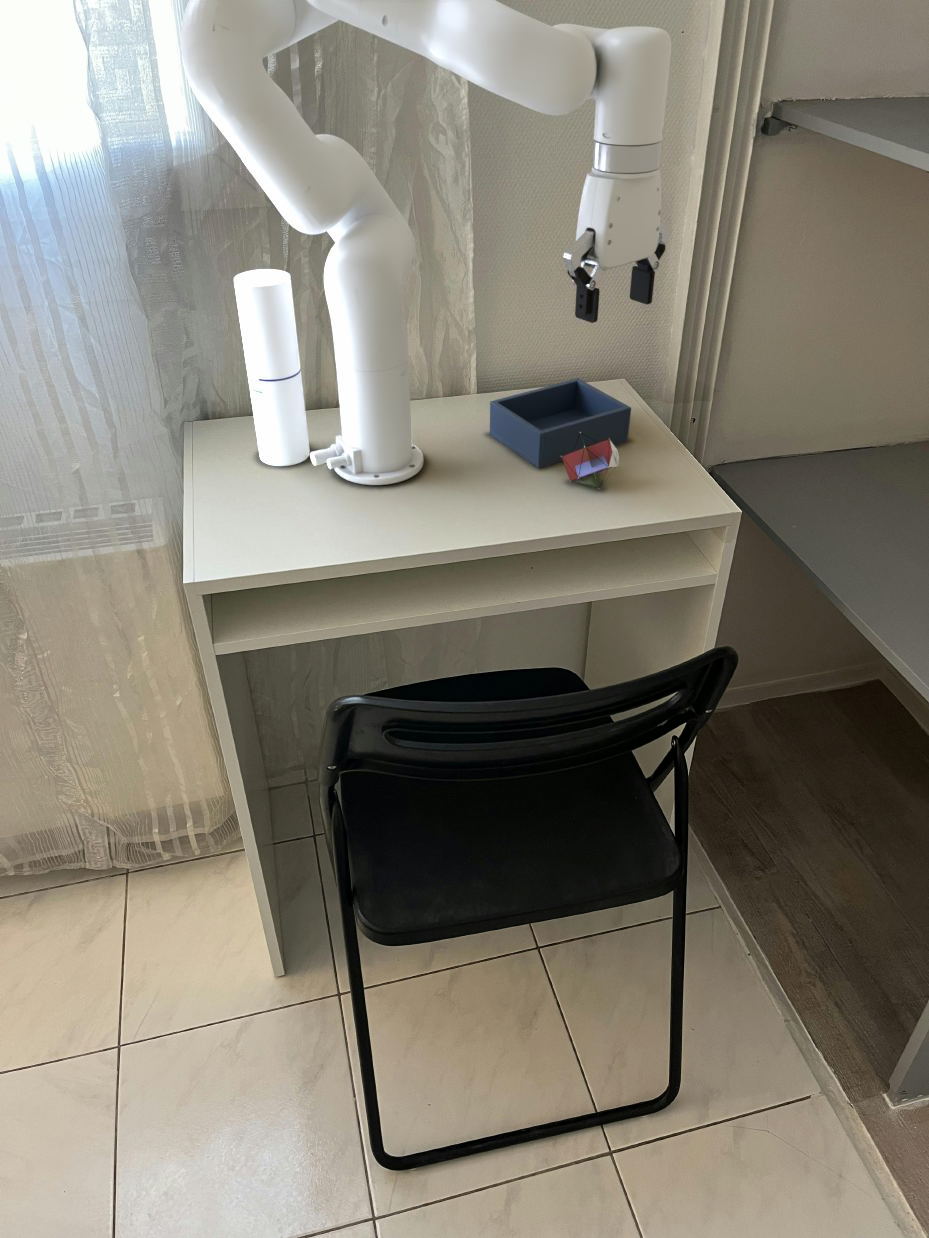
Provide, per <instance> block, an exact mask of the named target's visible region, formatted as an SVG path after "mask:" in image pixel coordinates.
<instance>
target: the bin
mask: <svg viewBox="0 0 929 1238" xmlns="http://www.w3.org/2000/svg"><path fill="white" fill-rule="evenodd" d="M631 414H632V407H631V406H629V405H627V404H626V403H624V402H622V401H620V400H618V399H616V398H615V397H613V396H611V395H609V394H608V393H606V392H604V391H603V390H600V389H599V388H596V387H595V386H593V385H592V384H589V383H587V382H586V381H584V380H583V379H580V378H574V379H570V380H567V381H563V382H559V383H558V382H557V383H555V384H551V385H547V386H544V387H540V388H536V389H531V390H528V391H523V392H519V393H517V394H513V395H509V396H506V397H501V398H498V399H495V400H490V401H489V435H490V436H491V437H492V438H494V439H495V440H496V441H498V442H499V443H501V444H503V445H504V446H506V447H507V448H508V449H510V450H511V451H513V452H514V453H515V454H517V455H518V456H520V457H521V458H522V459H524V460H526V461H527V462H528V463H530V464H531V465H533V466H534V467H535V468H537V469H541V468H544V467H547V466H551V465H554V464H557V463H561V462H563V460H562V457H561V456H563V455H566V454H568V453H570V452H573V450H574V452H575V450H577V451H578V449H579V450H581V449H580V448H582V449H583V447H584V445H585V446H587V447H589V446H588V445H590V446H592V444H593V445H594V444H595V443H596V444H597V442H601V441H604V440H607V439H610V441H611V442H612V443H613V445H614V446H616V445H619V444H622V443H625V442H629V441H628V440H629V430H630V422H631ZM580 432H581V433H582V434H580ZM583 433H584V435H583ZM579 434H580V436H579ZM588 434H589V435H588ZM581 435H582V438H581ZM585 435H586V436H585ZM592 435H593V436H592ZM577 436H578V437H579V438H578V437H577ZM597 436H598V437H597ZM588 437H589V438H588ZM590 438H591V439H590ZM606 438H607V439H606ZM582 439H583V441H582ZM592 439H593V440H592ZM577 440H578V441H577ZM594 440H595V441H594ZM573 441H574V442H573ZM596 441H597V442H596ZM576 442H577V443H576ZM583 442H584V444H583ZM575 445H576V446H575ZM569 446H570V447H569ZM574 447H575V449H574ZM565 451H566V452H565Z"/></svg>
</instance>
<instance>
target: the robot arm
mask: <svg viewBox="0 0 929 1238" xmlns="http://www.w3.org/2000/svg"><path fill="white" fill-rule="evenodd" d="M338 21H341V22H344V23H346V24H348V25H351V26H353V27H355V28H358V29H360V30H363V31H365V32H368V33H370V34H372V35H375V36H376V37H379V38H381V39H383V40H386V41H388V42H390V43H393V44H396V45H397V46H399V47H401V48H404V49H406V50H409V51H412V52H413V53H416V54H417V55H420V56H423V57H424V58H426V59H428V60H430V61H431V62H433V63H434V64H435V65H437V66H439V67H441V68H443V69H446V70H447V71H450V72H452V73H454V74H456V75H458V76H459V77H461V78H463V79H465V80H466V81H469V82H470V83H473V84H474V85H476V86H478V87H480V88H482V89H484V90H486V91H489V92H490V93H493V94H495V95H498V96H499V97H502V98H505V99H507V100H509V101H511V102H514V103H515V104H518V105H520V106H523V107H525V108H528V109H530V110H533V111H535V112H538V113H540V114H543V115H547V116H557V117H558V116H565V115H569V114H571V113H573V112H575V111H576V110H578V109H579V108H580V107H582V106H583V105H584V103H585V102H586V101H587V100H589V99H590V100H591V99H594V101H595V112H594V125H593V127H594V129H593V142H592V144H593V145H592V157H591V158H592V161H591V172H588V173H586V177H585V181H584V184H583V187H582V193H581V198H580V203H579V209H578V216H577V223H576V233H575V241H574V242H573V243H572V244H571V245H570V246H569V247H568V248H567V249H566V250H565V252H564V253H563V257H562V258H563V261H564V264H565V266H566V269H567V275H568V276H569V278H571V280H572V284H573V285H575V286H576V291H575V306H574V309H575V310H574V316H575V317H576V318H577V319H579V320H582V321H585V322H588V323H591V324H594V323H596V322H597V321H598V320H599V306H600V292H601V291H600V288H598V287H597V286H598V283H599V281H600V280H601V278H602V276H603V274H604V272H605V271H606V270H612V269H615V268H618V267H619V268H620V267H621V266H625V265H628V264H631V263H635V264H636V265H634V266H632V269H631V276H630V288H629V299H630V300H631V301H635V302H637V303H640V304H644V305H651V304H652V303H653V296H654V287H655V276H656V271H657V270H658V269H659V268H660V264H661V263H660V259H661V258H662V257H663V255H664V253H665V251H666V245H667V243H668V240H669V238H670V235H671V233H672V227H671V226H670V225H668V224H667V223H665V222H664V221H662V220H661V217H662V216H661V214H662V175H661V168H660V165H661V157H662V149H663V137H664V127H665V117H666V116H665V115H666V107H667V106H666V105H667V96H668V86H669V76H670V68H671V56H672V38H671V36H670V33H669V32H668V31H667V30H665V29H663V28H660V27H655V26H644V25H643V26H642V25H641V26H640V25H639V26H637V25H636V26H635V25H634V26H633V25H632V26H621V27H614V28H611V29H609V28H602V27H594V26H593V27H592V26H586V25H581V24H575V23H559V24H554V25H550V24H547V23H545V22H543V21H540V20H539V19H535V18H533V17H531V16H529V15H527V14H525V13H522V12H520V11H518V10H516V9H513V8H512V7H510V6H508V5H506V4H504V3H502V2H500V1H498V0H188V2H187V4H186V6H185V10H184V13H183V15H182V20H181V27H180V38H179V39H180V40H179V41H180V54H181V60H182V65H183V69H184V73H185V75H186V77H187V80H188V83H189V86H190V87H191V89H192V92H193V93H194V95H195V98H196V99H197V100H198V102H199V103H200V105H201V106H202V108H203V109H204V111H205V112H206V114H207V115H208V116H209V118H210V120H211V121H212V122H213V123H214V124H215V126H216V127H217V128H218V129H219V131H220V132H221V133H222V135H223V136H224V137H225V138H226V140H227V141H228V143H229V144H230V145H231V147H232V148H233V149H234V151H235V153H237V155H238V157H239V158H240V159H241V161H242V163H243V164H244V165H245V167H246V168H247V170H248V171H249V173H250V174H251V175H252V176H253V178H254V179H255V180H256V182H257V183H258V184H259V186H260V187H261V189H262V190H263V192H265V194H266V195H267V197H268V198H269V200H270V201H271V202H272V204H273V205H274V207H275V208H276V209H277V211H278V213H280V215H281V216H282V217H283V219H284V220H285V222H287V224H289V225H290V226H291V227H292V228H293V229H295V230H296V231H298V232H300V233H302V234H305V235H311V236H312V235H320V234H324V233H326V232H327V234H329V236H330V237H331V239H332V240H333V242H334V244H333V245H332V247H331V248H330V251H329V252H328V255H327V258H326V261H325V264H324V269H323V286H324V294H325V295H324V296H325V299H326V303H327V308H328V313H329V319H330V324H331V331H332V339H333V350H334V361H335V369H336V380H337V391H338V392H337V393H338V404H339V414H340V415H339V416H340V425H341V434H339V435H335V443H333V444H331V445H330V447H328V448H327V447H326V448H321V449H317V450H313V451H310V455H309V457H310V461H311V464H312V465H313V466H315V467H317V466H320V465H323V464H326V466H327V467H328V469H329V470H332V469H333V470H334V471H335V472H336V474H337V475H339V476H340V477H341V478H342V479H344V480H345V481H349V482H352V483H354V484H360V485H365V486H366V485H367V486H383V485H392V484H398V483H400V482H403V481H406V480H408V479H410V478H412V477H415V475H417V474H418V473H419V472H420V471H421V469H422V468H423V466H424V454H423V451H422V450H421V448H419V447H418V446H417V445H415V444H414V443H413V441H412V418H411V417H412V415H411V394H410V393H411V391H410V390H411V389H410V388H411V387H410V367H409V366H410V365H409V347H408V332H407V331H408V330H407V321H406V314H405V307H404V285H405V284H406V281H407V280H408V277H409V275H410V274H411V272H412V271H413V268H414V265H415V261H416V257H417V256H416V255H417V246H416V240H415V237H414V234H413V232H412V229H411V228H410V226H409V224H408V222H407V220H406V219H405V218H404V216H403V215H402V213H401V212H400V210H399V209H398V208H397V205H396V204H395V202H394V201H393V200H392V199H391V197H390V196H389V193H388V192H387V191H386V189H385V188H384V187H383V185H382V184H381V182H380V181H379V179H378V178H377V176H376V175H375V173H374V171H372V169H371V168H370V166H369V165H368V163H367V161H366V160H365V159H364V158H363V156H362V155H361V154H360V152H359V151H358V150H356V149H355V148H354V146H352V145H351V144H350V143H349V142H347V141H346V140H345V139H342V138H341V137H339V136H336V135H333V134H329V133H328V134H327V133H319V134H315V133H314V132H313V130H312V129H311V127H310V126H309V125H308V124H307V122H306V121H305V120H304V118H303V116H301V114H300V112H299V110H298V109H297V108H296V106H295V104H294V102H293V101H292V100H291V99H290V97H289V96H288V95H287V94H286V93H285V91H284V90H283V89H282V88H281V87H280V86H279V85H278V84H277V83H276V82H275V80H273V78H272V77H271V76H270V75H269V74H268V72H267V70H266V67H265V66H264V61H263V60H264V58H266V57H268V56H271V55H273V54H276V53H279V52H281V51H283V50H285V49H286V48H289V47H290V46H292V45H294V44H296V43H298V42H300V41H301V40H303V39H305V38H307V37H309V36H311V35H314V34H315V33H317V32H319V31H322V30H323V29H325V28H327V27H328V26H331V25H333V24H335V23H336V22H338ZM591 268H592V269H593V270H592V271H591V273H590V275H589V273H588V272H589V271H590V269H591Z"/></svg>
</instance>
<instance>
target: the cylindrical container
mask: <svg viewBox="0 0 929 1238" xmlns="http://www.w3.org/2000/svg"><path fill="white" fill-rule="evenodd" d="M233 285H234V290H235V291H234V292H235V298H236V305H237V311H238V318H239V324H240V332H241V338H242V344H243V352H244V359H245V366H246V372H247V380H248V386H249V393H250V399H251V405H252V413H253V419H254V426H255V427H254V428H255V433H256V440H257V449H258V454H259V459H260V460H261V461H262V462H263V463H265V464H266V465H269V466H275V467H288V466H294V465H297V464H300V463H302V462H305V461H306V460H307V459H308V458H309V457H310V453H311V450H310V441H309V431H308V423H307V422H308V421H307V414H306V406H305V404H306V403H305V396H304V395H305V394H304V386H303V378H302V369H301V359H300V350H299V340H298V333H297V324H296V323H297V322H296V314H295V306H294V297H293V287H292V280H291V274H290V273H289V272H287V271H286V270H285V271H284V270H281V269H274V268H259V269H251V270H247V271H243V272H241V273H238V274H235V276H234V277H233Z"/></svg>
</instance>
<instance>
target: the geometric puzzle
mask: <svg viewBox="0 0 929 1238" xmlns="http://www.w3.org/2000/svg"><path fill="white" fill-rule="evenodd" d="M580 434H582V433H581V432H580ZM580 434H579V436H580ZM583 435H584V433H583ZM588 435H589V434H588ZM585 436H586V435H585ZM592 436H593V435H592ZM577 437H578V436H577ZM597 437H598V436H597ZM578 438H579V437H578ZM581 438H582V435H581ZM588 438H589V437H588ZM590 439H591V438H590ZM606 439H607V438H606ZM592 440H593V439H592ZM577 441H578V440H577ZM582 441H583V439H582ZM594 441H595V440H594ZM573 442H574V441H573ZM596 442H597V441H596ZM576 443H577V442H576ZM583 444H584V442H583ZM575 446H576V445H575ZM588 446H589V447H587V446H585V445H584V447H583V449H582V448H580V449H581V450H579V449H578V451H577V450H575V452H574V450H573V452H570V453H568V454H566V455H563V456H561V457H562V460H563V461H562V462H563V465H564V467H565V471H566V473H567V476H568V479H569V482H570V483H575V484H576V482H575V481H578V480H582V481H583V482H585V483H586V484H585V486H587V487H588V484H589V485H590V487H591V488H593V487H594V488H595V489H598V490H599V489H600V488H601V487H602V485H599V482H598V479H597V476H596V474H598V473H601V472H604V471H606V472H605V473H604V475H606V474H607V472H608V470H609V469H612V468H618V466H619V461H620V455H619V450H618V448H617V447H616V445H613V443H612V442H611V441H610V439H607V440H604V441H601V442H597V444H596V443H595V444H594V445H593V444H592V446H590V445H588ZM569 447H570V446H569ZM574 449H575V447H574ZM565 452H566V451H565ZM613 472H614V470H612V472H611V473H613ZM590 476H594V478H595V481H596V484H597V486H595V485H593V484H591V483H590V482H588V481H586V480H583V478H587V477H590ZM609 476H610V475H608V477H607V478H609ZM604 479H605V477H603V478H602V480H601V483H600V484H603V483H605V482H606V480H604ZM603 481H604V482H603ZM577 484H578V485H580V483H579V482H577ZM581 485H584V484H582V483H581Z"/></svg>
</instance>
